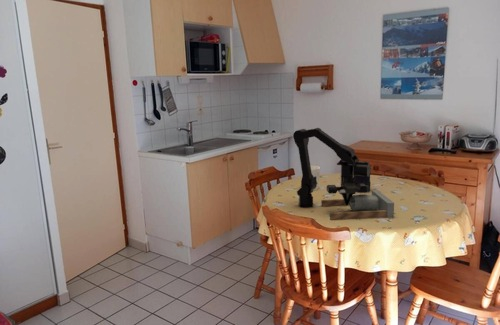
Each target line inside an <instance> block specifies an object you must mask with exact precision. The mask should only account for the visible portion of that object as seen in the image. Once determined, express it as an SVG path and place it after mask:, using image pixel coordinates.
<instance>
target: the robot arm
mask: <svg viewBox="0 0 500 325" xmlns="http://www.w3.org/2000/svg"><path fill="white" fill-rule="evenodd" d="M292 138H293V140H294V144H295V145H296V147H297V149H298V155H299V156H298V157H299V160H300V161H299V162H300V166H301V167H300V168H301V175H302V176H301V181H300V188H299V189H298V190H297V191H296V193H297V196H298V206H299V208H311V207H313V205H314V197H313V194H312V193H313V192H314V191H315V190H314V189H315V188H316V186H317V184H318V185H319V182H318V183H317V181H316V176H315V177H313V175H312V173H311V166H312V165H311V162H310V153H309V148H308V146H309V140H310V138H316V139H317V140H319V141H320V142H321V143H323V144H324V145H325V146H327V147H328V148H330V149H331V151H332V150H333V152H334V153H335V154H336V156H337V157H338V158H339V159H340V160H339V161H338V162H337V163H336V165H337V166H340V186H336V184H327V185H326V192H327V193H328V194H336V193H337V192H338V194H340V195H341V196H342V199H344V202H345V205H344V206H349V205H348V203H349V201H350V198H351V197H352V196H353V195H357V194H356V193H357V192H356V190H360V191H361V192H367V193H369V192H368V187H367V186H366V185H365V184H360V182H354V177H353V171H354V174H356V175H358V176H369V175H370V168H371V167H370V165H371V164H370V162H369V161H360V159H359V158H358V157H357V155H356V151H355V150H354V148H353V147H351V146H348V145H346V144H342V143H340V142H339V141H337V140H336V139H335V138H333V137H332V136H330V135H329V134H328V133H327V132H325V131H323V130H322V129H321V128H320V127H316V128H312V129H306V128H300V129H298V130H295V131H294V133H293V134H292ZM369 164H370V165H369ZM353 166H354V169H353ZM370 176H371V175H370ZM313 208H314V207H313Z"/></svg>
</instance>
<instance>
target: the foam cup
mask: <svg viewBox="0 0 500 325" xmlns="http://www.w3.org/2000/svg"><path fill="white" fill-rule="evenodd" d="M310 166H311V173H312V175H313V177H315V176H316V181H317V183H318V184H317V186H316V188H315V189H314V190H313V191H317V190H318V188H319V181H320V173H321V167H320V166H318V165H310Z"/></svg>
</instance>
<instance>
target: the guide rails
mask: <svg viewBox="0 0 500 325" xmlns="http://www.w3.org/2000/svg"><path fill="white" fill-rule="evenodd" d="M339 206H340V207H342V206H344V207H345V206H346V205H345V202H344V199H343V198H337V199H336V198H335V199H334V198H333V199H321V207H339ZM348 206H350V201H349V203H348ZM379 218H380V219H381V218H387V211H386V210H378V209H377V210H376V211H341V212H339V211H337V212H330V213H329V219H330V221H335V220H336V221H339V220H353V219H354V220H355V219H356V220H357V219H358V220H359V219H360V220H362V219H379Z"/></svg>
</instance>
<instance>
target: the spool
mask: <svg viewBox="0 0 500 325" xmlns="http://www.w3.org/2000/svg"><path fill="white" fill-rule="evenodd" d="M349 208H350V209H351V212H356V211H377V210H378V198H377V197H376V196H374V195H372V194H366V193H360V194H353V195H352V197H351V198H350V205H349Z"/></svg>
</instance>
